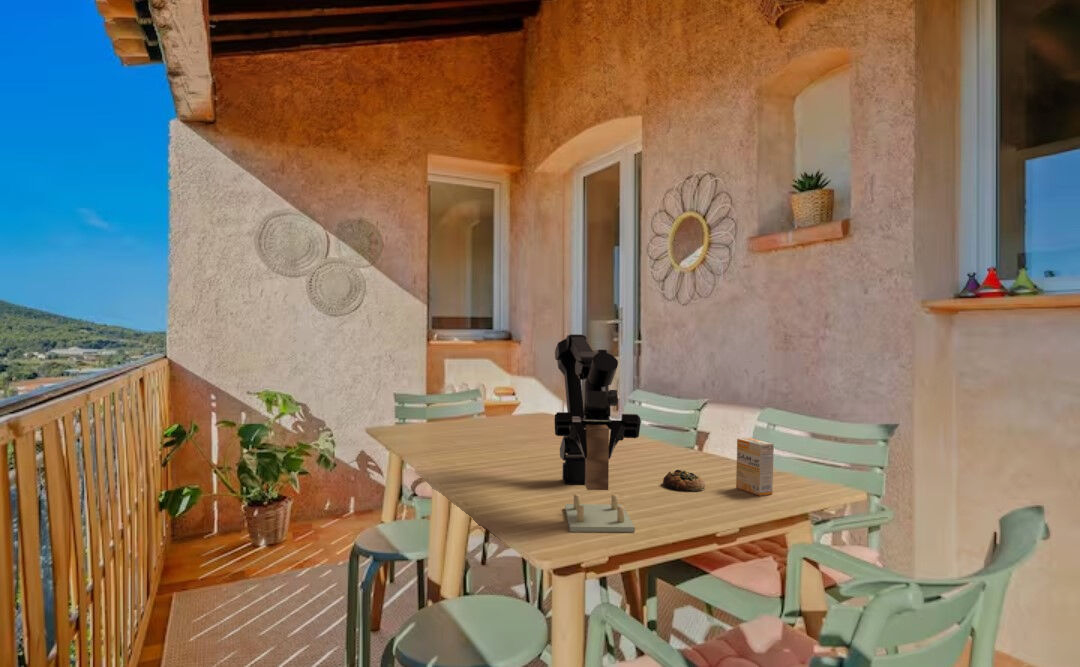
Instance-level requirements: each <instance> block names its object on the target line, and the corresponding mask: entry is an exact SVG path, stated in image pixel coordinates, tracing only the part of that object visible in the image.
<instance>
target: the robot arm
mask: <svg viewBox="0 0 1080 667" xmlns="http://www.w3.org/2000/svg"><path fill="white" fill-rule="evenodd" d="M554 358H555V360H556V361H557V367H558V370H560V373H562V374H563V376H564V377H563V378H564V388H565V399H566V410H567V411H566V412H565V411H564V412H560V411H558V412H556V413H555V414H554V435H555V436H557V437H562V439H561V442H560V447H559V457H560V458H561V459H562V461H564V462H563V463H562V470H561V472H562V474H561V476H562V480H563V481H564V484H566V485H585V458H586V443H585V437H586V425H607V427H608V428H609V460H610V459H611V457H612V456H613V453H614V450H615V448H616V446H617V445H618V443H619V441H621V442H622V441H624V440H625V439H637V438H639V437H640V430H641V423H642V422H641V416H640V415H638V414H637V413H622V414H621V418H620V420H617V419H615V420H614V419H613V420H612V419H611V418H610V417H611V407H617V406H618V400H619V399H618V397H619V396H618V389H610V386H611V385H612V384H613V381H614V378H615V374H616V371H617V369H618V366H619V361H618V359H617V358H616V357H615V356H614V355H612V354H611V353H608V351H607V349H597V352H594V350H593V349H592V347H591V345H590V344H589V342H588V341H587V337H586V335H584V334H578V333H577V334H572V333H571V334H568V335H567V336H566V337H565V338H564V339H563V340H561V341H559V342H557V345H556V347H555V350H554ZM582 380H583V381H584V380H585V381H584V384H583V386H584V389H582ZM583 391H584V393H583ZM583 394H584V398H583ZM583 399H584V400H583Z"/></svg>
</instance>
